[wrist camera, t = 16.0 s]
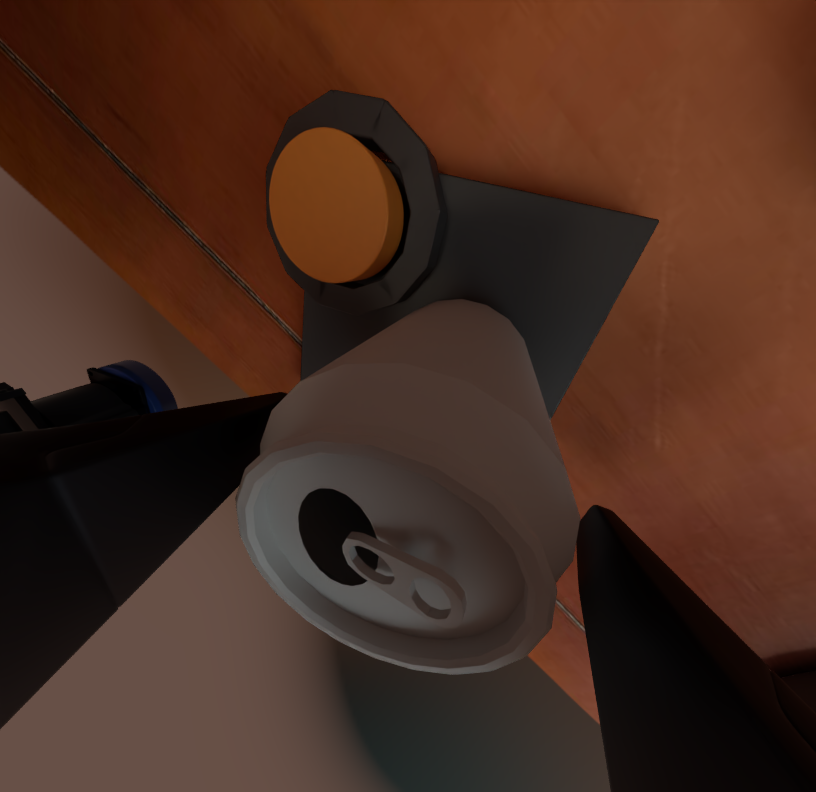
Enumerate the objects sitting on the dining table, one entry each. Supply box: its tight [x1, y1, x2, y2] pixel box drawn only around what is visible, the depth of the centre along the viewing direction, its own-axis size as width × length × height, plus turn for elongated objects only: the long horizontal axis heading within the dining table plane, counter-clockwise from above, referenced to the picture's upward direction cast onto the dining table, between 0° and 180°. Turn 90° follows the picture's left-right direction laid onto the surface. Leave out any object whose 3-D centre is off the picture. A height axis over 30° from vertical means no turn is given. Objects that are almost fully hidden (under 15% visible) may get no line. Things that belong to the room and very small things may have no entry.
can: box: [236, 299, 580, 675], centre depth 10 cm, size 8×8×12 cm
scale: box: [266, 90, 659, 420], centre depth 15 cm, size 16×14×3 cm
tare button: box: [269, 127, 404, 283], centre depth 12 cm, size 5×5×2 cm
